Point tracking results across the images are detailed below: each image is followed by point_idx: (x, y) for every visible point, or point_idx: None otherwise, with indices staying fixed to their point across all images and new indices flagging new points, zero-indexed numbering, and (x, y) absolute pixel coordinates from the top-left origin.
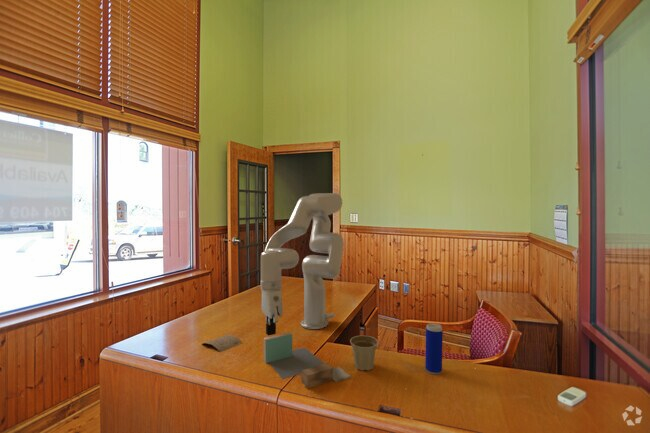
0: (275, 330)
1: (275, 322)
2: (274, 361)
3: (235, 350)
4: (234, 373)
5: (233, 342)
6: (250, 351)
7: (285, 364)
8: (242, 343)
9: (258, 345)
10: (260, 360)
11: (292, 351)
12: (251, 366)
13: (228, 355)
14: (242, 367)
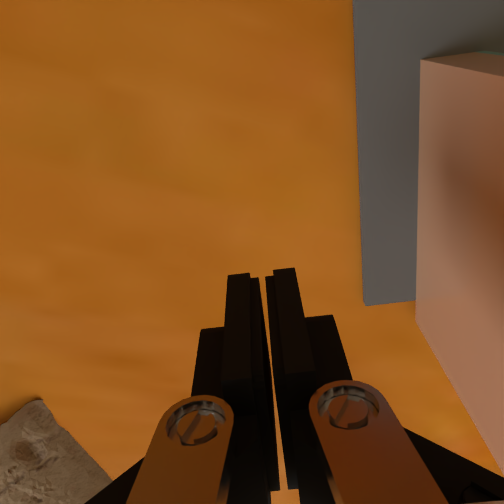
0: (298, 293)
1: (389, 421)
2: None
3: (127, 452)
4: None
5: (27, 478)
6: (184, 369)
7: None
8: (25, 408)
9: (83, 295)
10: (375, 330)
11: (384, 11)
12: (429, 397)
13: None
14: None
